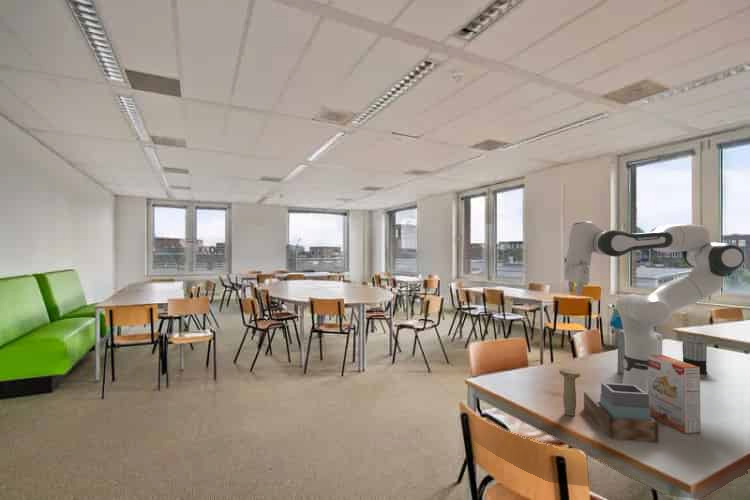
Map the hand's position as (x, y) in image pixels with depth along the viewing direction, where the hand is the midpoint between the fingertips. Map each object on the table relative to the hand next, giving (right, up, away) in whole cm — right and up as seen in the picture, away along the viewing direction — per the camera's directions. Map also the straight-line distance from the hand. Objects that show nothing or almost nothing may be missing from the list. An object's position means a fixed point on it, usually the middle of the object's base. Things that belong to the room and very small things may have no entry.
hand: (574, 293), depth 153 cm
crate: (-4, -38, -36) cm, 52 cm away
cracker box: (+16, -39, -31) cm, 53 cm away
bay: (-3, -39, -32) cm, 50 cm away
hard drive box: (+40, -40, +18) cm, 59 cm away
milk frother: (+67, -40, +26) cm, 82 cm away
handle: (-15, -39, -24) cm, 49 cm away
